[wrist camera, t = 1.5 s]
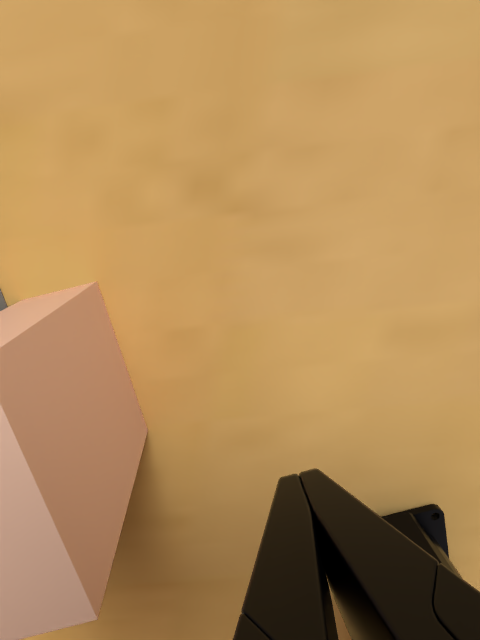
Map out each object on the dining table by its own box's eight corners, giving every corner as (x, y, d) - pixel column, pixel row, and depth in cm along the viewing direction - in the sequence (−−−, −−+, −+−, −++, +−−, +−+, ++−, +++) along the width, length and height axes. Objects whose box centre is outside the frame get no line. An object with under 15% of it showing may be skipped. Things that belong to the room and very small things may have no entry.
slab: (147, 430, 21) (97, 619, 11) (81, 447, 21) (-25, 650, 11) (97, 281, 19) (-19, 360, 9) (22, 299, 19) (-172, 398, 9)
